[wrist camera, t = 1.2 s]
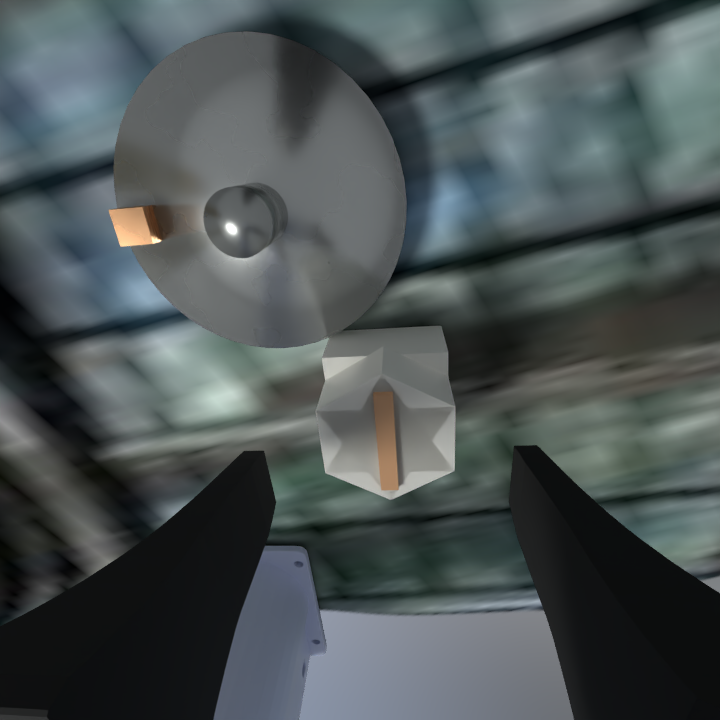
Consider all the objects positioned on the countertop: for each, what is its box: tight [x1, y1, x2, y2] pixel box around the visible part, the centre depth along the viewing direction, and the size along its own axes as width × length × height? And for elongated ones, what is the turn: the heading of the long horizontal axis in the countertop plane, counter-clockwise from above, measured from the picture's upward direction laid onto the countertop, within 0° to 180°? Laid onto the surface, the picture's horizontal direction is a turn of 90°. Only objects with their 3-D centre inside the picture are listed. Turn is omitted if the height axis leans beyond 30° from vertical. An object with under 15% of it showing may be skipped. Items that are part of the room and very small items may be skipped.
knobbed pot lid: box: [109, 31, 407, 348], centre depth 14 cm, size 10×10×3 cm
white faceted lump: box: [316, 326, 455, 500], centre depth 15 cm, size 5×4×5 cm
